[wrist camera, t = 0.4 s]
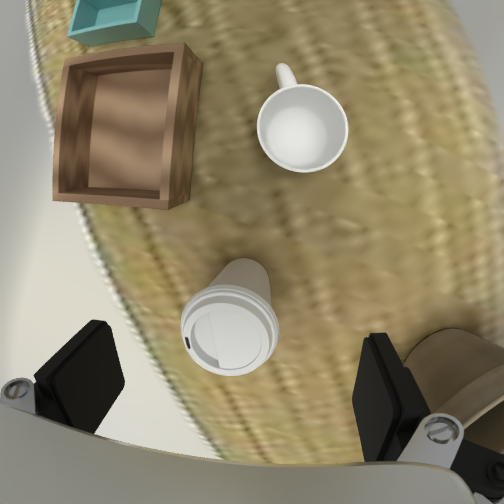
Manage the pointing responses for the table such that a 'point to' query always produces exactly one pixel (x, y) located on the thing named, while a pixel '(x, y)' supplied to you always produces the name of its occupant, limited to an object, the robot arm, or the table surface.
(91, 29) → the small crate
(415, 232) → the table surface
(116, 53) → the big crate
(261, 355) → the coffee cup
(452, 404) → the plant pot
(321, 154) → the mug
